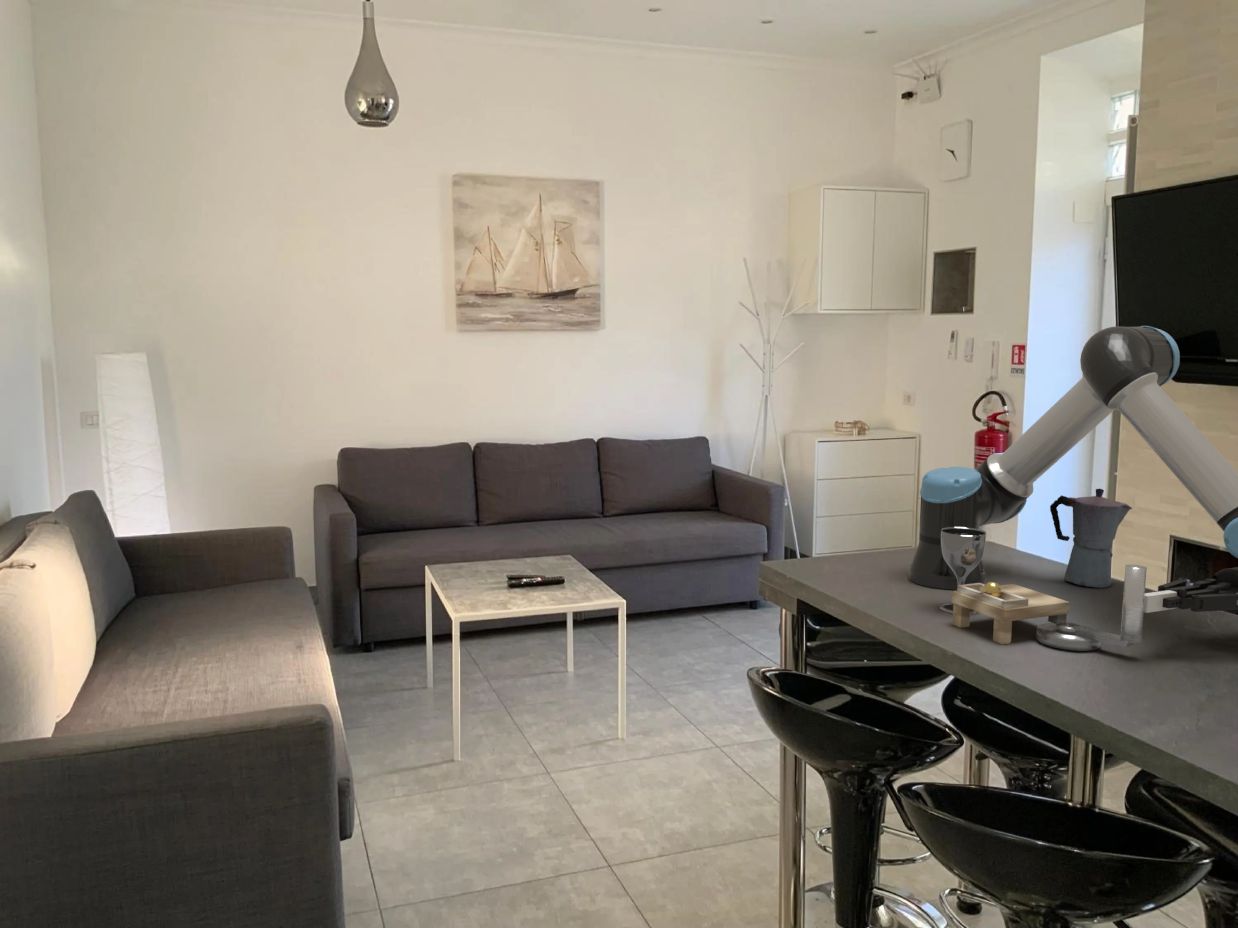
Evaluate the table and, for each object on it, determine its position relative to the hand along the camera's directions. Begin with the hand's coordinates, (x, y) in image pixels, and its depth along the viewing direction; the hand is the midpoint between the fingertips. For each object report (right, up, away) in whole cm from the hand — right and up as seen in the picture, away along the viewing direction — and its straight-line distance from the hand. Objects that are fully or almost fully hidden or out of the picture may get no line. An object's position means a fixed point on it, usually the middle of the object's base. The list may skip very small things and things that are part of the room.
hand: (1143, 603), depth 158 cm
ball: (-19, 0, +13) cm, 23 cm away
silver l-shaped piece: (-6, -8, +6) cm, 12 cm away
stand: (-15, -7, +16) cm, 23 cm away
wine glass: (-20, -5, +29) cm, 35 cm away
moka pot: (+13, -3, +48) cm, 50 cm away
